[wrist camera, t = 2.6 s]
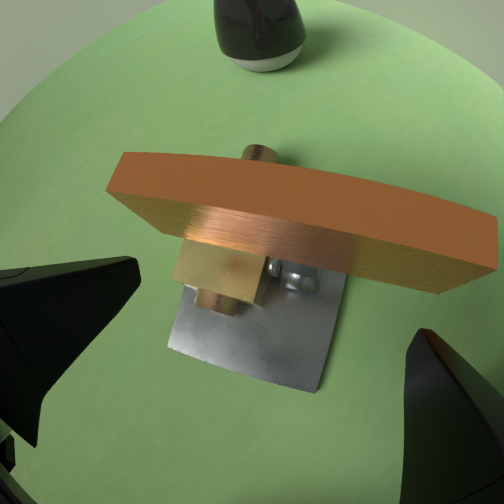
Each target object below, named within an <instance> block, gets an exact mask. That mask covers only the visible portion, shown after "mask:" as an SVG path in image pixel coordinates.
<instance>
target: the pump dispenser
mask: <svg viewBox="0 0 504 504" xmlns="http://www.w3.org/2000/svg"><path fill="white" fill-rule="evenodd" d="M214 23H215V30H216V36H217V41H218V44H219V47H220V50H221V51H222V53H223V54H225V55H226V56H227V57H228V58H229V59H230V60H231V61H232V62H233V63H234V64H236V65H237V66H239V67H241V68H243V69H246V70H249V71H255V72H266V71H273V70H277V69H280V68H282V67H284V66H286V65H288V64H289V63H291V62H292V61H293V60H294V59H295V58H296V57H297V56H298V54H299V53H300V51H301V48H302V45H303V42H304V41H305V38H306V33H305V27H304V23H303V20H302V17H301V14H300V11H299V8H298V6H297V4H296V2H295V0H214Z"/></svg>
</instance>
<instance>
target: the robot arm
mask: <svg viewBox="0 0 504 504" xmlns="http://www.w3.org/2000/svg"><path fill="white" fill-rule="evenodd" d="M140 283H141V275H140V270H139V265H138V261H137V259H136V258H133V257H130V256H120V257H112V258H103V259H94V260H86V261H77V262H69V263H60V264H52V265H44V266H36V267H31V268H30V267H25V268H16V269H7V270H0V504H37V503H36V502H35V501H34V500H33V499H32V498H31V497H30V496H29V495H28V494H27V493H26V492H25V491H24V490H23V488H22V487H21V486H20V485H19V484H18V483H17V482H16V481H15V479H14V478H13V477H12V476H11V475H10V474H9V473H10V472H11V470H12V469H13V468H14V466H15V465H16V464H15V448H14V437H13V436H12V435H11V434H10V432H11V431H12V430H13V431H15V432H16V433H17V434H18V435H19V436H20V437H22V438H23V439H24V440H25V441H26V442H28V443H29V444H30V445H31V446H33V447H34V448H35V447H36V446H37V439H38V428H39V419H40V411H41V404H42V401H43V398H44V397H45V395H46V394H47V391H49V390H50V389H51V387H52V386H53V385H54V384H55V383H56V382H57V380H58V379H59V378H60V377H61V376H62V375H63V373H64V372H65V371H66V370H67V369H68V368H69V367H70V365H71V364H72V363H73V362H74V361H75V360H76V359H77V357H78V356H79V355H80V354H81V353H82V352H83V351H84V350H85V349H86V347H87V346H88V345H89V344H90V343H91V342H92V341H93V340H94V339H95V338H96V336H97V335H98V334H99V333H100V332H101V331H102V330H103V329H104V328H105V327H106V326H107V325H108V324H109V323H110V321H111V320H112V319H113V318H114V317H115V316H116V315H117V314H118V313H119V311H120V310H121V309H122V308H123V306H124V305H125V304H126V302H127V301H128V300H129V299H130V297H131V296H132V295H133V293H134V292H135V291H136V290H137V288H138V287H139V286H140ZM399 504H504V397H503V396H502V395H501V394H500V393H499V392H498V391H497V390H496V389H495V388H494V387H493V386H492V385H491V384H490V383H489V382H488V381H487V380H486V379H485V378H484V377H483V376H482V375H481V374H480V373H478V372H477V371H476V370H475V369H474V368H473V367H472V366H471V365H470V364H469V363H468V362H467V361H466V360H465V359H464V358H463V357H461V356H460V355H459V354H458V353H457V352H456V351H455V350H454V349H453V348H452V347H451V346H449V345H448V344H447V343H446V342H445V341H444V340H443V339H442V338H441V337H439V336H438V335H437V334H436V333H435V332H434V331H432V330H430V329H425V328H420V329H419V330H418V331H417V333H416V335H415V336H414V338H413V340H412V342H411V344H410V345H409V347H408V349H407V353H406V368H405V384H404V457H403V473H402V485H401V495H400V503H399Z"/></svg>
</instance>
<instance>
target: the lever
mask: <svg viewBox="0 0 504 504" xmlns="http://www.w3.org/2000/svg"><path fill="white" fill-rule="evenodd" d="M105 191H106V192H108V193H109V194H110V195H112V196H113V197H114V198H115V199H117V200H118V201H119V202H121V203H122V204H123V205H125V206H126V207H127V208H129V209H130V210H132V211H133V212H134V213H136V214H137V215H138V216H140V217H141V218H142V219H144V220H145V221H146V222H148V223H149V224H151V225H152V226H153V227H155V228H156V229H157V230H159V231H160V232H162V233H164V234H168V235H173V236H177V237H182V238H186V239H190V240H195V241H199V242H204V243H208V244H213V245H217V246H222V247H226V248H231V249H235V250H240V251H244V252H249V253H253V254H258V255H262V256H267V257H271V258H276V259H280V261H281V264H282V266H283V268H282V273H281V279H280V287H283V288H287V289H291V290H295V291H300V292H304V293H308V294H313V295H316V294H317V291H318V286H319V282H320V278H321V274H322V269H326V270H330V271H335V272H339V273H344V274H348V275H353V276H357V277H362V278H366V279H371V280H375V281H380V282H384V283H389V284H393V285H398V286H402V287H407V288H412V289H416V290H421V291H425V292H430V293H434V294H440V293H443V292H445V291H448V290H450V289H453V288H456V287H458V286H461V285H463V284H466V283H468V282H470V281H473V280H475V279H478V278H480V277H482V276H484V275H487V274H489V273H491V272H494V271H496V270H497V259H498V244H497V219H496V217H495V216H492V215H489V214H486V213H484V212H481V211H478V210H475V209H472V208H469V207H466V206H463V205H460V204H456V203H453V202H450V201H447V200H443V199H440V198H437V197H433V196H430V195H426V194H422V193H419V192H415V191H411V190H407V189H403V188H400V187H395V186H391V185H387V184H383V183H379V182H374V181H370V180H365V179H361V178H356V177H351V176H346V175H341V174H336V173H331V172H325V171H320V170H314V169H308V168H302V167H296V166H289V165H282V164H275V163H268V162H260V161H252V160H244V159H235V158H225V157H214V156H202V155H188V154H172V153H148V152H124V153H123V155H122V157H121V159H120V161H119V163H118V165H117V167H116V169H115V171H114V173H113V175H112V177H111V179H110V182H109V184H108V186H107V188H106V190H105Z"/></svg>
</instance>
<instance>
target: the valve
mask: <svg viewBox="0 0 504 504" xmlns="http://www.w3.org/2000/svg"><path fill="white" fill-rule="evenodd" d="M241 159H244V160H252V161H260V162H268V163H275V164H278V161H279V157H278V155H277V153H276V152H275V151H273V150H272V149H270V148H268V147H266V146H263V145H256V144H255V145H249V146H247V147H245V149H244V151H243V154H242V157H241ZM282 268H283V266H282V264H281V261H280V259H276V258H271V257H267V256H262V255H258V254H253V253H249V252H244V251H240V250H235V249H231V248H226V247H222V246H217V245H213V244H208V243H204V242H199V241H195V240H190V239H186V238H184V241H183V244H182V247H181V250H180V253H179V256H178V259H177V262H176V265H175V268H174V271H173V274H172V277H171V280H173V281H175V282H178V283H180V284H183V285H185V287H184V290H183V294H182V297H181V300H180V304H179V307H178V311H177V314H176V318H175V321H174V325H173V328H172V332H171V335H170V339H169V343H168V346H167V347H169V348H171V349H174V350H176V351H179V352H181V353H184V354H187V355H189V356H192V357H195V358H197V359H200V360H203V361H206V362H208V363H211V364H214V365H217V366H220V367H223V368H226V369H229V370H232V371H235V372H238V373H241V374H244V375H248V376H251V377H254V378H257V379H261V380H264V381H268V382H271V383H275V384H279V385H282V386H286V387H290V388H294V389H298V390H302V391H306V392H310V393H316V390H317V387H318V383H319V380H320V377H321V374H322V370H323V367H324V363H325V360H326V356H327V353H328V349H329V346H330V342H331V338H332V334H333V331H334V327H335V323H336V319H337V314H338V310H339V306H340V302H341V297H342V293H343V288H344V284H345V279H346V274H344V273H339V272H335V271H330V270H326V269H322V274H321V278H320V282H319V286H318V291H317V294H316V295H313V294H308V293H304V292H300V291H295V290H291V289H287V288H283V287H280V279H281V273H282Z"/></svg>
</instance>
